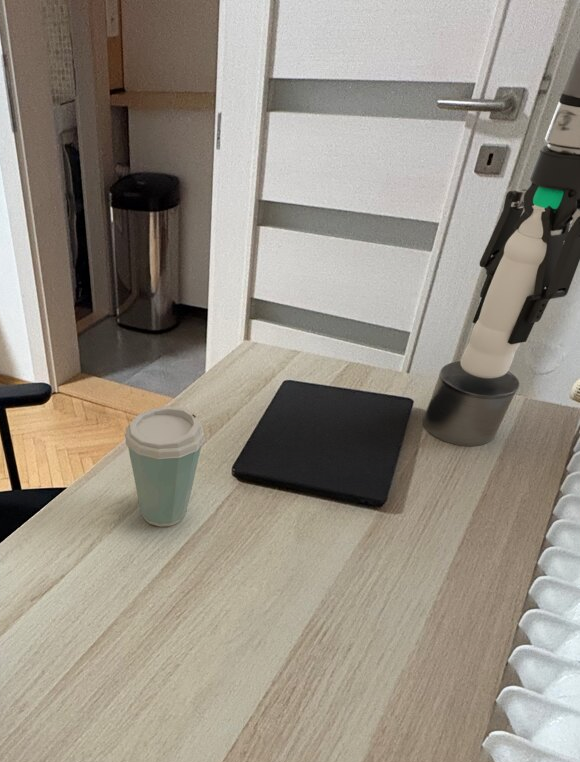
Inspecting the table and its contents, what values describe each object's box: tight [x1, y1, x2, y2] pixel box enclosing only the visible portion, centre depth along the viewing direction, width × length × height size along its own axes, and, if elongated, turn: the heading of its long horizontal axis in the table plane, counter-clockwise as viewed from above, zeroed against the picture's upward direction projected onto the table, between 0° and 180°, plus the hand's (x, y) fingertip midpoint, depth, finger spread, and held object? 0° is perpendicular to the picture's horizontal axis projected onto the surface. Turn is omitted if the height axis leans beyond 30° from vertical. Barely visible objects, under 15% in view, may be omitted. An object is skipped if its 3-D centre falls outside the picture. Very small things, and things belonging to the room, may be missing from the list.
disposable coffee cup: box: [124, 405, 206, 527], centre depth 86 cm, size 11×11×15 cm
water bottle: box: [460, 186, 563, 378], centre depth 89 cm, size 7×7×25 cm
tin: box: [422, 360, 520, 447], centre depth 102 cm, size 12×12×9 cm
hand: (498, 331), depth 93 cm, fingers closed on water bottle, 7 cm apart
